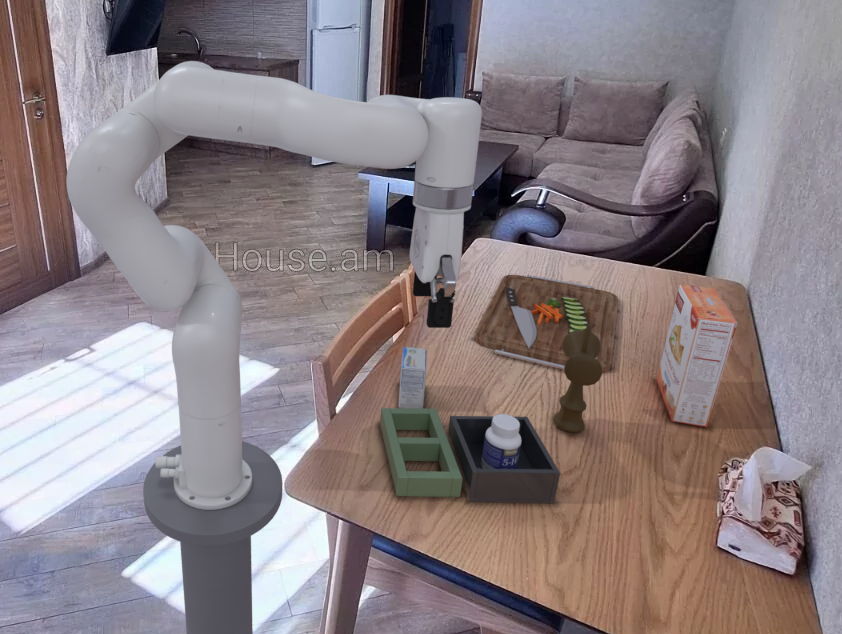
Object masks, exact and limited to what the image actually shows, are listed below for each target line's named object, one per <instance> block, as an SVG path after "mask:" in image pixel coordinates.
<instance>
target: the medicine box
mask: <svg viewBox="0 0 842 634" xmlns="http://www.w3.org/2000/svg"><path fill="white" fill-rule="evenodd" d="M426 378H427V349H426V348H421V347H413V346H411V347H410V346H403V347H402V352H401V364H400V378H399V391H398V392H399V394H398V408H422V409H424V401H425V392H426V391H425V390H426Z"/></svg>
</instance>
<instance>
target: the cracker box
mask: <svg viewBox="0 0 842 634" xmlns="http://www.w3.org/2000/svg"><path fill="white" fill-rule="evenodd" d="M726 305H727V304H726V303H725V302H724V301H723V299H722V298H721V296H720V295H719V293H718V291H717V290H716V289H715V288H714V287H705V286H697V285H689V284H679V286H678V289H677V294H676V297H675V302H674V307H673V311H672V314H671V318H670V324H669V327H668V330H667V336H666V339H665V343H664V348H663V351H662V356H661V359H660V364H659V368H658V370H657V371H658V372H657V376H656V382H657V384H658V388H659V392H660V394H661V396H662V399H663V402H664V405H665V408H666V411H667V413H668V416H669V419H670V421H671V422H673V423H678V424H679V423H680V424H685V425H690V426H691V425H692V426H696V427H704V428H707V427H708V426H709V423H710V422H709V421H710V418H711V415H712V411H713V409H714V406H715V405H714V404H715V401H716V399H717V394H718V391H719V388H720V383H721V380H722V377H723V374H724V370H725V368H726V367H725V366H726V364H727V359H728V357H729V353H730V349H731V346H732V342H733V339H734V337H735V333H736V329H737V326H738V321H737V320H736V319H735V317H734V316H733V314H732V313H731V311H730V310H729V308H728V307H727V306H726Z"/></svg>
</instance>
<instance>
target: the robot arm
mask: <svg viewBox="0 0 842 634" xmlns="http://www.w3.org/2000/svg"><path fill="white" fill-rule="evenodd" d="M482 114H483V111H482V107H481V105H480V103H478V102H477V101H476V100H473V99H470V98H464V97H452V96H450V97H449V96H446V97H434V98H430V99H429V98H427V99H426V98H417V97H410V96H403V95H397V94H382V95H377V96H374V97H372V98H370V99H369V100H367V101H360V100H359V101H357V100H353V99H352V100H351V99H346V98H341V97H336V96H331V95H328V94H324V93H321V92H318V91H315V90H313V89H310V88H309V87H306V86H304V85H302V84H300V83H298V82H295V81H292V80H290V79H286V78H282V77H275V76H267V75H266V76H265V75H257V74H248V73H243V72H233V71H227V70H223V69H222V70H220V69H214V68H213V67H211V66H210V65H209V64H206V63H204V62H201V61H198V60H197V61H196V60H189V61H183V62H180V63H178V64H176V65H174V66H173V67H171V68H170V69H168V70H167V71H166V72H165V73H164V74H163V75H162V76H161V77H160V79H158V81H156V82H155V83H154V84H153V85H151V86H150V87H149V88H148V89H146V90H144V91H143V92H142V93H141V94H140V95H138V96H137V97H135V98H134V99H133V100H131V101H130V102H129V103H127V104H126V105H125V106H123V107H122V108H120V109H119V110H117V111H116V112H115V113H114V114H112V115H110V116H109V117H108V118H106V119H105V120H103V121H102V122H100V123H98V124H97V125H96V126H94V127H93V128H92V129H91V130H89V132H88V133H87V134H86V135H84V137H83V138H82V139H81V141H80V142H79V143H78V145H77V147H76V148H75V150H74V152H73V154H72V156H71V157H70V161H69V163H68V167H67V171H66V179H65V180H66V183H65V184H66V192H67V196H68V200H69V202H70V204H71V208H73V210H74V212H75V214H76V215H77V217H78V218H79V220H80V221H81V222H82V224H83V225H84V226H85V227H86V229H87V230H88V231H89V232H90V233H91V235H93V237H94V238H95V240H96V241H97V242H98V243H99V245H100V246H101V247H102V248H103V250H104V252H105V253H106V255H107V256H108V257H109V259H110V260H111V262H112V263H113V264H114V266H115V267H116V268H117V269H118V271H119V272H120V273H121V274H122V276H123V277H124V278H125V280H126V281H127V282H128V284H129V285H130V287H131V288H132V289H133V291H134V292H135V293H136V295H137V296H138V297H139V298H140V300H142V302H143V303H144V304H145V305H146V306H148V307H150V308H151V309H152V310H155V311H156V312H157V311H158V312H163V313H172V312H174V311H177V310H180V311H179V313H178V316H177V318H176V322H175V325H174V329H173V333H172V340H171V356H172V363H173V368H174V374H175V381H176V392H177V393H176V394H177V405H178V419H179V434H180V445H181V452H182V454H176V457H168V456H163V455H156V457H155V461H154V463H155V467H156V468H161V472H160V476H161V477H174V490H175V492H176V494H177V496H178V497H179V498H180V500H182V501H183V502H184V503H186V504H187V505H189V506H191V507H194V508H198V509H203V510H217V509H223V508H226V507H229V506H232V505H234V504H236V503H238V502H239V501H241V500H242V499H243V498H244V497H245V496H246V495H247V494H248V492H249V491H250V489H251V486H252V472H251V469H250V467H249V465H248V464H247V463H246V462H245V461H244V460H243V459H242V441H243V433H242V432H243V429H242V393H241V392H242V391H241V370H240V369H241V367H240V345H241V334H242V322H243V302H242V298H241V296H240V293H239V292H238V290H237V288H236V287H235V285H234V284H233V282H232V281H231V279H230V278H229V276H228V274H227V273H226V272H225V270H224V269H223V268H222V266H221V265H220V263H219V262H218V261H217V260H216V258H215V257H214V255H213V254H212V252H211V250H210V249H209V248H208V247H207V245H206V243H204V242H203V240H202V239H201V238H200V237H199V236H198V235H197V234H196V233H195V232H193V231H192V230H190V229H188V227H184V226H182V225H178V224H166V225H164V224H163V223H162V222H161V220H160V218H159V217H158V216H157V214H156V212H155V211H154V210H153V208H152V207H151V206H150V205H149V203H147V202H146V201H145V200H144V199H142V197H140V196H139V195H138V193H137V190H136V184H137V182H138V181H139V179H140V178H141V177H142V176H143V175H144V173H145V172H146V171H147V170H148V169H149V168H150V167H151V165H152V164H153V163H154V162H155V161H156V160H157V159H158V158H160V157H161V156H162V155H163V154H165V153H166V152H167V151H169V150H170V149H172V148H173V147H174V146H176V145H177V144H179V143H180V142H181V141H183V140H184V139H185V138H187V137H188V136H192V137H197V138H198V137H199V138H205V139H206V138H208V139H213V140H220V141H221V140H222V141H229V142H236V143H237V142H238V143H245V144H250V145H251V144H253V145H258V146H259V145H260V146H267V147H274V148H276V149H277V148H278V149H281V150H284V151H286V152H289V153H290V152H291V153H294V154H300V155H304V156H307V157H312V158H316V159H319V160H323V161H327V162H333V163H336V164H337V163H338V164H344V165H350V166H359V167H365V168H367V167H368V168H374V169H382V170H383V169H384V170H397V169H402V168H405V167H408V166H411V165H412V164H414V163H415V170H414V181H413V192H412V193H413V195H412V205H413V206H414V207H415V212H414V216H413V223H412V225H413V226H412V231H411V240H410V247H409V261H410V264H411V266H412V268H413V270H414V272H413V286H412V295H413V296H414V297H431V298H429V299H428V304H427V312H426V313H427V314H426V327H427V328H429V329H432V328H433V329H446V328H447V329H449V328H451V327H452V322H453V312H454V305H455V304H454V303H455V300H456V299H455V298H456V297H455V296H456V287H457V281H458V280H459V276H460V270H461V263H462V254H463V238H464V228H465V226H464V221H465V219H464V218H465V212H468V211H470V210H471V208H472V201H473V193H474V183H475V175H476V168H477V159H478V151H479V142H480V135H481V134H480V133H481V128H482V127H481V126H482ZM438 285H441V286H442V287H439V289H438V287H437V286H438ZM169 468H175V469H169Z"/></svg>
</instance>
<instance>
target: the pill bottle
mask: <svg viewBox="0 0 842 634" xmlns="http://www.w3.org/2000/svg"><path fill="white" fill-rule="evenodd" d="M493 416H494V417H493V419H492V424H491V427H489V428H488V429H487V431H486V434H485V440H484V446H483V452H482V459H481V466H482V469H517V463H518V458H519V453H520V447H521V436H520V434H519V428H520V423H519V421H518V420H517V419H516V418H514V417H515V416H514V417H512V416H513V415H510V414H506V413H499V414H495V415H493Z"/></svg>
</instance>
